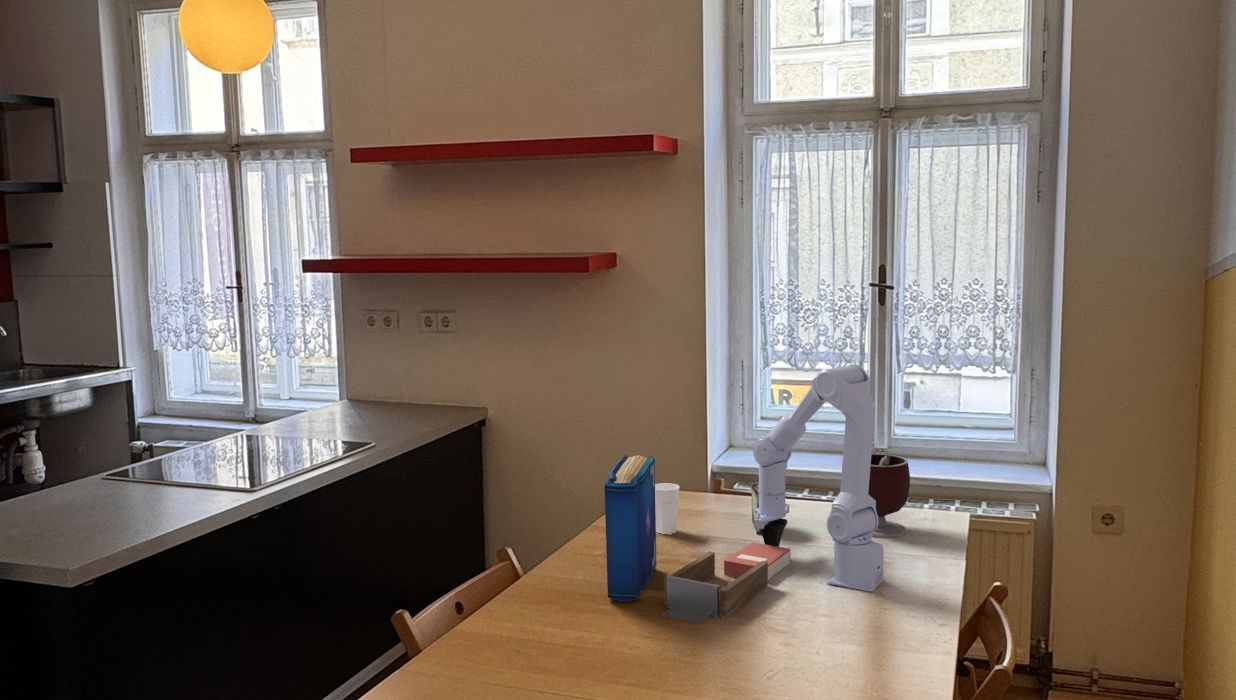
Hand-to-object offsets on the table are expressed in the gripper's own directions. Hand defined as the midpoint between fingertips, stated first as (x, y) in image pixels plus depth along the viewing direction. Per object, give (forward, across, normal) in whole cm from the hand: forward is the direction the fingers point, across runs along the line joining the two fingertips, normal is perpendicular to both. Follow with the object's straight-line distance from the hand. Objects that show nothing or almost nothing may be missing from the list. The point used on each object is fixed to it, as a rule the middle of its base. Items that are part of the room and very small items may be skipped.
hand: (772, 552), depth 218 cm
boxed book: (+1, +8, 0) cm, 9 cm away
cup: (+1, -4, -30) cm, 30 cm away
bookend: (+1, +39, 0) cm, 39 cm away
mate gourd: (+1, -30, +14) cm, 33 cm away
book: (+1, +31, -17) cm, 35 cm away
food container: (+1, -18, -10) cm, 21 cm away
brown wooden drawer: (+1, +26, 0) cm, 27 cm away
